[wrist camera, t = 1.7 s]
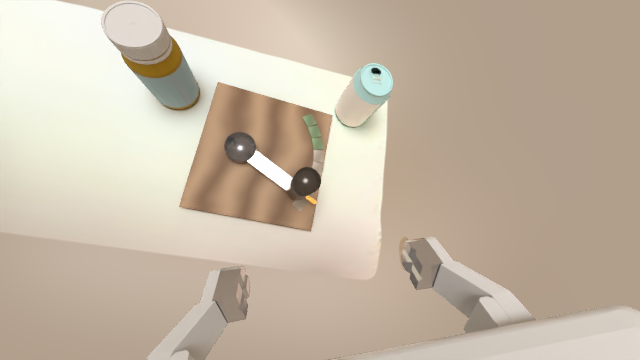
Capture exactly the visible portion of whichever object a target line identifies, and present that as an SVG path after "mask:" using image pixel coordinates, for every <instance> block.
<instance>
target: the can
mask: <svg viewBox="0 0 640 360" xmlns="http://www.w3.org/2000/svg"><path fill="white" fill-rule="evenodd" d="M392 87H393V78H392V76H391V74H390V72H389V71H388V70H387V69H386V68H385V67H384V66H382V65H380V64H376V63H370V64H367V65H366V66H364V67H361V68H360V69H358V70H357V71H356V73H355V74H354V76H353V77H352V79H351V81H350V82H349V84H348V86H347V87H346V89H345V90H344V92H343V94H342V95H341V97H340V98H339V100H338V102H337V104H336V114H337V117H338V118H339V120H340V121H341V122H342V123H343V124H345V125H347V126H350V127H357V126H360V125H362V124H363V123H364V122H365V121H366V120H367V119H368V118H369V117H370V116H371V115H372V114H373V113H374V112H375V111H376V110H377V109H378V108H379V107H380V106H381V105H383V104H384V103H385V102H386V101H387V100H388V98H389V97H390V94H391V89H392Z"/></svg>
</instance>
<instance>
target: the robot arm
mask: <svg viewBox="0 0 640 360" xmlns="http://www.w3.org/2000/svg"><path fill="white" fill-rule="evenodd" d="M403 247H404V250H403V251H402V254H401V259H402V264H403V266H404V268H405V270H406V271H407V272H409V273H410V280H411V281H412V283H413V285H414V287H415V289H416V290H419V289H427V288H433V289H434V290H435V291H436V292H438V293H439V294H440V295H441V296H443V297H444V298H445V299H446V300H447V301H449V302H450V303H451V304H452V305H454V306H455V307H456V308H457V309H458V310H460V311H461V312H462V313H463V314H465V315H466V316H467V317H468V318H469V319H468V320H467V322H466V324H465V326H464V330H465V332H466V333H465V334H460V335H455V336H449V337H444V338H439V339H434V340H429V341H423V342H418V343H413V344H408V345H402V346H397V347H392V348H387V349H381V350H376V351H371V352H366V353H361V354H355V355H350V356H345V357H340V358H334V359H329V360H640V311H638V310H636V309H633V308H630V307H628V306H624V305H611V306H606V307H601V308H596V309H591V310H585V311H580V312H575V313H570V314H564V315H559V316H555V317H549V318H544V319H538V320H536V319H535V318H534V317H533V316H532V315H531V314H530V313H529V312H528V311H527V309H526V308H525V307H524V306H523V305H522V304H521V303H520V302H519V301H518V300H517V299H516V297H515V296H514V295H513V294H512V293H511V292H510V291H508V290H507V289H505V288H503V287H501V286H500V285H498V284H496V283H494V282H492V281H491V280H489V279H487V278H485V277H484V276H482V275H480V274H478V273H476V272H475V271H473V270H471V269H469V268H468V267H466V266H464V265H462V264H460V263H459V262H454V261H453V260H452V259H451V257H450V256H449V255H448V254H447V252H446V251H445V250H444V248H443V247H442V246H441V245H440V243H439V242H438V241H437V239H436V238H435V237H428V238H420V239H414V240H408V241H405V242H404V243H403ZM245 272H246V270H245V267H244V266H240V267H231V268H223V269H216V270H211V271H210V273H209V275H208V278H207V281H206V284H205V287H204V290H203V293H202V296H201V299H200V302H199V304H195V306H194V307H193V308H192V309H191V310H190V311H189V312H188V313H187V314H186V315H185V316H184V317H183V319H182V320H181V321H180V322H179V323H178V324H177V325H176V326H175V327H174V329H172V330H171V331H170V333H169V334H168V335H167V336H166V337H165V338H164V339H163V340H162V341H161V342H160V343H159V344H158V345H157V347H156V348H155V349H154V350H153V351H152V352H151V353H150V354H149V355H148V357H147V359H146V360H204V359H205V358H206V356H207V355H208V353H209V352H210V350H211V349H212V347H213V346H214V344H215V343H216V341H217V339H218V338H219V336H220V335H221V333H222V332H223V330H224V329H225V327H226V326H227V323H229V322H234V321H239V320H244V319H246V315H247V308H248V304H247V301H246V299H247V298H248V297H249V293H250V282H249V278H248V276H247V275H245Z"/></svg>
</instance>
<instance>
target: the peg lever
mask: <svg viewBox="0 0 640 360" xmlns="http://www.w3.org/2000/svg"><path fill="white" fill-rule="evenodd" d="M224 149H225V152H226V154H227V155H228V157H229V158H230V159H231V160H232V161H233V162H235V163H239V164H244V163H248V164H250V165H251V166H252V167H254V168H255V169H256V170H258V171H259V172H260V173H262V174H263V175H264V176H266V177H267V178H269V179H270V180H271V181H273V182H274V183H275V184H277V185H278V186H279V187H281V188H282V189H283V190H285V191H286V192H287V194H288V195H289V197H290V198H292V199H293V200H301V199H303V198H305V199H307V200H308V201H309V202H311V203H312V204H313V205H315V204H316V203H317V201H316V200H314V199H313V198H312V197H310V196H309V195H310V194H312V193H314V192H315V191H317V190H318V189H319V187H320V184H321V178H320V175H319V173H318V172H317V171H316V170H315V169H313V168H311V167H304V168H301V169H299V170H298V171H297V172H296V174H295V175H294V177H293V178H292V177H291V176H289V175H288V174H287V173H285V172H284V171H283V170H281V169H280V168H279V167H278V166H276V165H275V164H274V163H272V162H271V161H270V160H268V159H267V158H266V157H264V156H263V155H262V154H260V153H259V152H258V151H256V144H255V141H254V139H253V138H252V137H251V136H250V135H248V134H247V133H243V132H236V133H233V134H231V135H230V136H228V137H227V139H226V141H225V143H224Z"/></svg>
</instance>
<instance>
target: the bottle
mask: <svg viewBox="0 0 640 360" xmlns="http://www.w3.org/2000/svg"><path fill="white" fill-rule="evenodd" d="M101 25H102V28H103V31H104V33H105V35H106V36H107V37H108V38H109V39H110V41H111V42H112V43H113V44H114V45H115V46H116V48H117V49H118V50H119V51H120V52H121V55H122V57H123V59H124V61H125V63H126V64H127V65H128V67H129V68H130V69H131V70H132V71H133V72H134V74H135V75H136V76H137V77H138V78H139V79H140V80H141V81H142V83H143V84H144V85H145V86H146V87H147V88H148V89H149V90H150V92H151V93H152V94H153V95H154V96H155V97H156V98H157V99H158V100H159V101H160V102H161V103H162V104H163V105H164V106H166V107H168V108H172V109H185V108H188V107H190V106H192V105H193V104H194V103H195V102H196V101H197V99H198V97H199V93H200V92H199V87H198V84H197V82H196V80H195V78H194V76H193V74H192V72H191V70H190V68H189V66H188V64H187V62H186V60H185V58H184V56H183V54H182V52H181V50H180V48H179V46H178V44H177V42H176V41H175V40H174V39H173V38H172V37H171V36H170V35H169V33H168V31H167V29H166V27H165V25H164V23H163V21H162V19H161V17H160V16H159V15H158V14H157V13H156V11H155V10H154V9H152V8H151V7H149V6H148V5H146V4H143V3H141V2H137V1H121V2H117V3H114V4H112V5H111V6H109V7H108V8H107V9H106V10H105V11H104V13H103V15H102V18H101Z"/></svg>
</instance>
